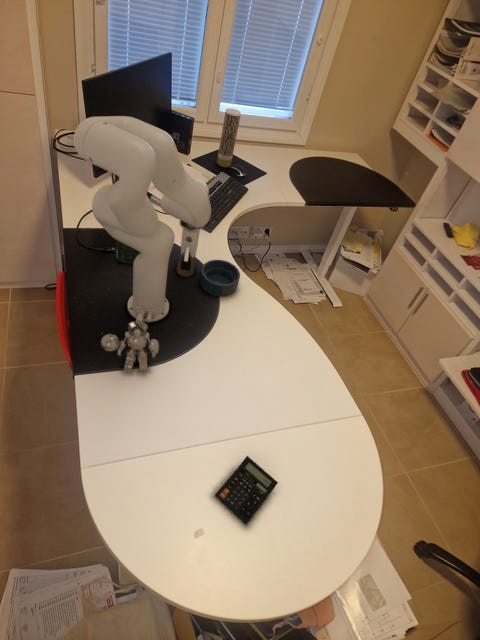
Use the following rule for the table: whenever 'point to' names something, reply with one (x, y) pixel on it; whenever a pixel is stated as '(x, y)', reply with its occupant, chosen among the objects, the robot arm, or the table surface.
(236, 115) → the paper tube
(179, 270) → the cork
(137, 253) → the coffee jar
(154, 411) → the table surface
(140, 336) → the robot toy
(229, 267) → the bowl
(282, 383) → the table surface
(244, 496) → the calculator
